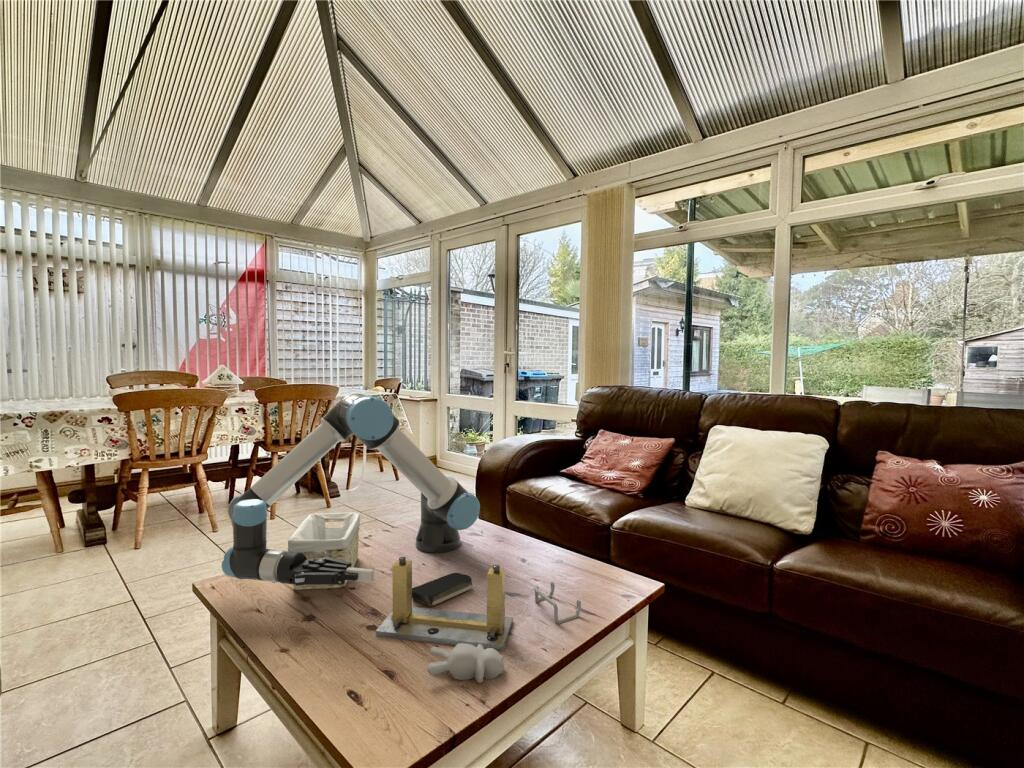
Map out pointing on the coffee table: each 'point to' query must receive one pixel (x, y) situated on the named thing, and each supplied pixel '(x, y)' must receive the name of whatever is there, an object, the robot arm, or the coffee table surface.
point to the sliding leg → (402, 590)
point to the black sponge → (442, 588)
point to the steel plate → (445, 630)
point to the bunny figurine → (468, 662)
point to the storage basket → (327, 541)
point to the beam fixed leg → (493, 607)
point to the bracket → (547, 598)
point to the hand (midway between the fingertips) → (372, 576)
